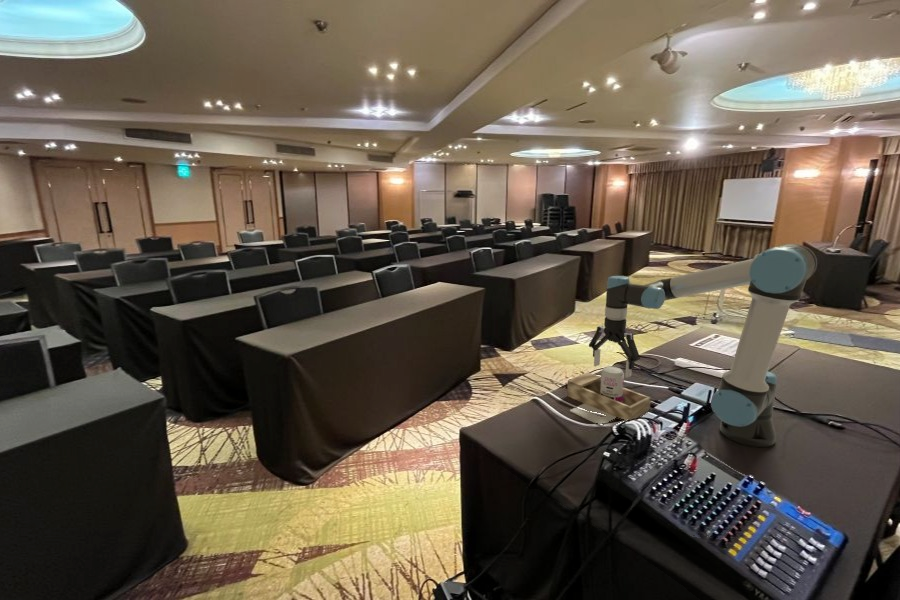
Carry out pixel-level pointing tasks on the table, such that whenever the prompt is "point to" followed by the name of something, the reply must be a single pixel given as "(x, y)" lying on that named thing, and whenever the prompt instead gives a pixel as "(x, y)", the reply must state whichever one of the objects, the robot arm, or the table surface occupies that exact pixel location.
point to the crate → (580, 392)
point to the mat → (591, 416)
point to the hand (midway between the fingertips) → (611, 370)
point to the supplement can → (612, 383)
